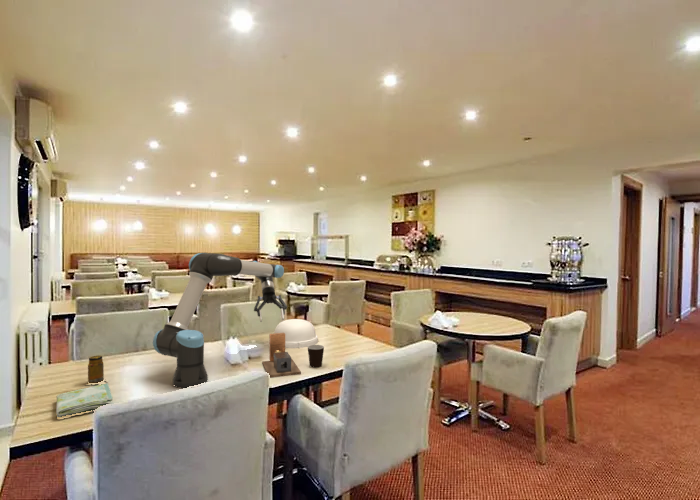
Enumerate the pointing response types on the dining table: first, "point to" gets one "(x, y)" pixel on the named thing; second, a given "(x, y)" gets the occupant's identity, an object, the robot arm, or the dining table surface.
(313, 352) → the coffee mug
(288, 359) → the block
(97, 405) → the towel
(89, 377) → the condiment
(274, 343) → the wooden upright block
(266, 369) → the base board
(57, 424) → the dining table surface
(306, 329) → the dome cover
